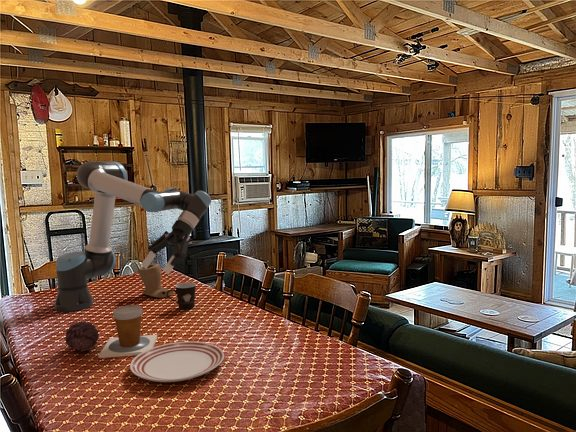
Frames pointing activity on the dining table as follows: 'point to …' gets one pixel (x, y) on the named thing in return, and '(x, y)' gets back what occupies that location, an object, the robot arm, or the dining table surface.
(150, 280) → the tan irregular lump
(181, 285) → the coffee mug
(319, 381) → the dining table surface
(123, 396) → the dining table surface
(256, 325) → the dining table surface
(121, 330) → the disposable coffee cup
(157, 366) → the dinner plate
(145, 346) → the board
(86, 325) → the pine cone
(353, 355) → the dining table surface
